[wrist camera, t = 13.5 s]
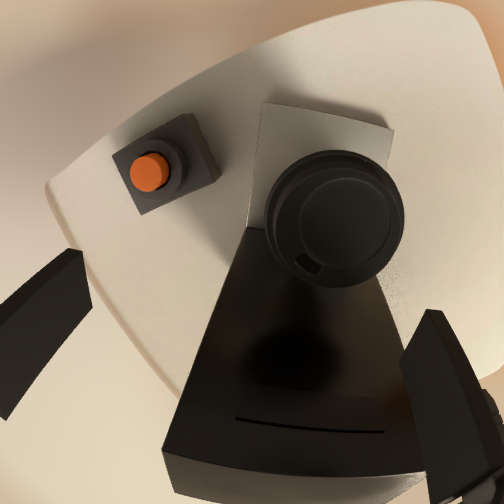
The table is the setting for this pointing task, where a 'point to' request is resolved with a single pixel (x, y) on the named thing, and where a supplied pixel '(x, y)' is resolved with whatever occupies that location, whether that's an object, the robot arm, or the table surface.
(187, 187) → the control block
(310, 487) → the coffee maker
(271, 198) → the coffee cup
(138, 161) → the button
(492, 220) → the table surface
